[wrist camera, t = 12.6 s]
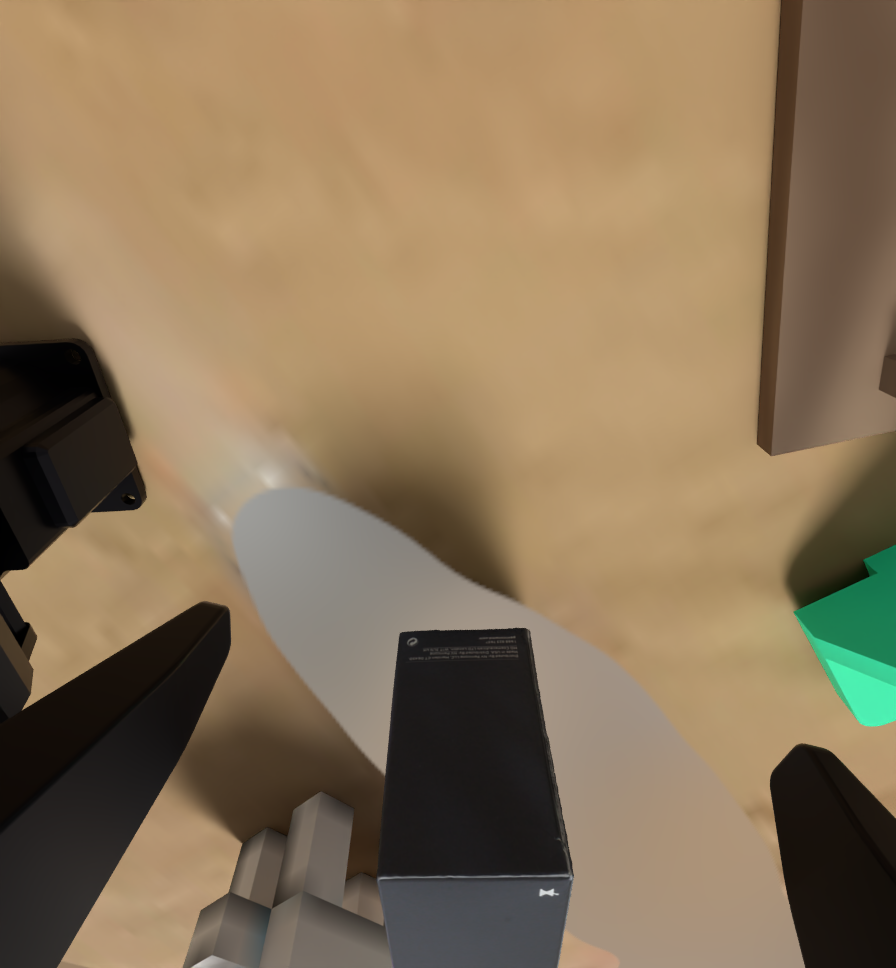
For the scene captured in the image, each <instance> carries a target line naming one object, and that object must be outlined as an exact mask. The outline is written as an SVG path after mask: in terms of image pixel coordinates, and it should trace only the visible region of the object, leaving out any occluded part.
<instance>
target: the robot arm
mask: <svg viewBox="0 0 896 968" xmlns="http://www.w3.org/2000/svg"><path fill="white" fill-rule="evenodd" d="M71 350H75V351H76V352H77V353H78V354H79V355H80V357H81V361H79V360H77V359H75V358H74V357H73V355H72V352H71ZM136 465H137V460H136V457H135V455H134V452H133V449H132V446H131V444H130V441H129V438H128V436H127V433H126V430H125V427H124V425H123V422H122V419H121V417H120V414H119V411H118V408H117V406H116V403H115V402H114V401H113V400H112V399H111V397H110V394H109V391H108V389H107V386H106V383H105V381H104V378H103V375H102V373H101V370H100V367H99V364H98V362H97V359H96V356H95V354H94V352H93V350H92V348H91V347H90V346H89V345H88V344H87V343H86V342H84V341H82V340H79V339H62V340H44V341H26V342H8V343H0V580H1V579H2V578H3V577H4V576H5V575H6V574H7V573H8V572H9V571H11V570H23V569H27V568H28V567H29V566H30V565H31V564H32V563H33V562H34V561H35V560H36V559H37V558H38V557H39V556H40V555H41V554H42V553H43V552H44V551H45V550H46V549H47V548H48V547H49V546H51V545H52V544H53V543H54V542H55V541H56V540H57V539H58V538H59V537H60V536H61V535H62V534H63V533H64V532H65V531H66V530H67V529H68V528H73V527H76V526H77V525H78V524H79V523H80V522H81V521H82V520H83V519H84V518H85V517H86V516H87V515H88V514H89V513H90V512H108V511H126V510H135V509H138V508H139V507H140V506H141V505H142V504H143V503H144V502H145V500H146V498H147V496H146V491H145V489H144V486H143V483H142V481H141V478H140V475H139V472H138V470H137V467H136ZM127 493H128V494H131V495H133V496H134V498H135V499H131V498H130V497H128V495H127ZM36 640H37V635H36V634H35V632H34V630H33V628H32V626H31V625H30V623H28V622H24V621H23V619H22V617H21V616H20V614H19V612H18V610H17V609H16V607H15V605H14V603H13V602H12V600H11V598H10V596H9V595H8V593H7V591H6V589H5V588H4V586H3V584H2V582H1V581H0V968H57V967H58V965H59V963H60V962H61V960H62V958H63V956H64V955H65V953H66V951H67V950H68V948H69V946H70V945H71V943H72V941H73V939H74V938H75V936H76V934H77V933H78V931H79V929H80V928H81V926H82V924H83V922H84V921H85V919H86V917H87V916H88V914H89V912H90V911H91V909H92V907H93V905H94V904H95V902H96V900H97V899H98V897H99V895H100V894H101V892H102V890H103V888H104V887H105V885H106V883H107V882H108V880H109V878H110V876H111V875H112V873H113V871H114V870H115V868H116V866H117V865H118V863H119V861H120V859H121V858H122V856H123V854H124V853H125V851H126V849H127V848H128V846H129V844H130V842H131V841H132V839H133V837H134V836H135V834H136V832H137V831H138V829H139V827H140V825H141V824H142V822H143V820H144V819H145V817H146V815H147V814H148V812H149V810H150V808H151V807H152V805H153V803H154V802H155V800H156V798H157V796H158V795H159V793H160V791H161V790H162V788H163V786H164V785H165V783H166V781H167V779H168V778H169V776H170V774H171V773H172V771H173V769H174V768H175V766H176V764H177V762H178V761H179V759H180V757H181V755H182V753H183V751H184V750H185V748H186V746H187V744H188V741H189V739H190V737H191V735H192V733H193V731H194V729H195V727H196V724H197V722H198V720H199V718H200V716H201V713H202V711H203V709H204V707H205V705H206V702H207V700H208V698H209V696H210V694H211V691H212V689H213V687H214V685H215V683H216V680H217V678H218V676H219V674H220V672H221V669H222V667H223V665H224V663H225V661H226V658H227V656H228V653H229V650H230V646H231V625H230V610H229V608H228V607H227V606H225V605H220V604H216V603H212V602H207V601H203V602H200V603H198V604H196V605H194V606H193V607H191V608H189V609H188V610H186V611H184V612H183V613H181V614H179V615H178V616H176V617H175V618H173V619H171V620H170V621H168V622H166V623H165V624H163V625H161V626H160V627H158V628H157V629H155V630H153V631H152V632H150V633H148V634H147V635H145V636H143V637H142V638H140V639H138V640H137V641H135V642H134V643H132V644H130V645H129V646H127V647H125V648H124V649H122V650H120V651H119V652H117V653H116V654H114V655H112V656H111V657H109V658H107V659H106V660H104V661H102V662H101V663H99V664H98V665H96V666H94V667H93V668H91V669H89V670H88V671H86V672H84V673H83V674H81V675H79V676H78V677H76V678H75V679H73V680H71V681H70V682H68V683H66V684H65V685H63V686H61V687H60V688H58V689H57V690H55V691H53V692H52V693H50V694H48V695H47V696H45V697H43V698H42V699H40V700H38V701H37V702H35V703H34V704H32V705H30V706H29V707H27V708H25V709H24V710H22V709H23V707H24V705H25V703H26V702H27V700H28V698H29V696H30V694H31V686H32V677H33V668H32V666H31V665H30V663H29V659H30V656H31V654H32V651H33V648H34V645H35V643H36ZM770 790H771V797H772V803H773V810H774V816H775V822H776V829H777V835H778V842H779V848H780V855H781V861H782V867H783V874H784V880H785V885H786V890H787V895H788V900H789V904H790V909H791V913H792V917H793V921H794V925H795V929H796V933H797V937H798V940H799V945H800V949H801V952H802V957H803V960H804V964H805V968H896V818H895V817H894V816H893V815H892V814H891V813H890V812H889V811H888V810H887V809H886V808H885V807H884V806H883V805H882V804H881V803H880V802H879V801H878V799H877V798H876V797H875V796H874V795H873V794H872V793H871V792H870V791H869V790H868V789H867V788H866V787H865V786H864V785H863V784H862V783H861V782H860V781H859V780H858V779H857V778H856V777H855V776H854V774H853V773H852V772H851V771H850V770H849V769H848V768H847V767H846V766H845V765H844V764H843V763H842V762H841V761H840V760H839V759H838V758H837V757H836V756H835V755H834V754H833V753H832V752H830V751H829V750H827V749H824V748H821V747H817V746H813V745H808V744H802V743H801V744H798V745H796V746H795V747H794V748H793V749H792V750H791V751H790V752H789V753H788V754H787V755H786V757H785V758H784V759H783V760H782V761H781V762H780V763H779V764H778V765H777V767H776V768H775V769H774V770H773V772H772V774H771V778H770Z"/></svg>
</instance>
